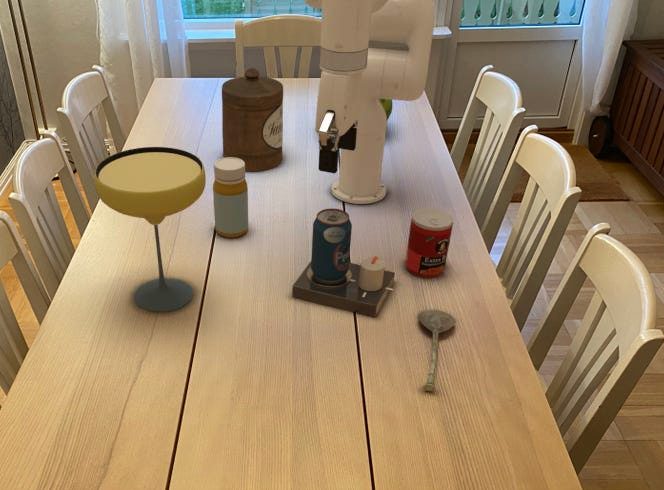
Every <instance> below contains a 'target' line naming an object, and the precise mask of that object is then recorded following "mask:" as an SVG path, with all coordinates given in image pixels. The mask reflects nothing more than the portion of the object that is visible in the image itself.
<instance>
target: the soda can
mask: <svg viewBox="0 0 664 490" xmlns="http://www.w3.org/2000/svg"><path fill="white" fill-rule="evenodd" d="M352 228H353V224H352V222H351V219H350V215H349V213H348V212H347V211H345V210H342V209H339V208H324V209H322V210H319V211H318V212H317V214H316V217H315V219H314V220H313V222H312V238H311V255H310V256H311V257H310V259H311V260H310V262H311V270H312V272H313V273H314V275H315V276H316V278H318V279H319V280H321V281H325V282H336V281H339V280H341V279H342V278H343V277H344V276H345V275H346V273H347V272H348V269H349V262H350V256H351V244H352V243H351V242H352V232H353V231H352V230H353V229H352Z"/></svg>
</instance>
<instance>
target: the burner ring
mask: <svg viewBox="0 0 664 490" xmlns="http://www.w3.org/2000/svg"><path fill="white" fill-rule="evenodd" d="M307 278H308V280H309V281H310V282H311V283H313V284H315V285H317V286H320V287H325V288H337V287H341V286H344V285H346V284H348V283H349V282H350V280H351V278H352V273H351V271H350V270H349V269H348V272H347V273H346V275H345V276H344V277H343V278H342V279H341V280H339V281H336V282H325V281H321V280H319V279H318V278H316V276H315V275H314V273H313V272H312V270H311V267H310V268H309V269H308V271H307Z"/></svg>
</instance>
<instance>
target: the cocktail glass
mask: <svg viewBox="0 0 664 490" xmlns="http://www.w3.org/2000/svg"><path fill="white" fill-rule="evenodd" d="M93 178H94V180H93V181H94V187H95V191H96V194H97V196H98V198H99V199H100V200H101V202H102V203H103V204H104V205H105V206H106V207H108V208H109V209H111V210H113V211H114V212H117V213H118V214H122V215H125V216H128V217H133V218H140V219H144V220H145V221H147V222H148V224H150V225H152V226H153V227H154V236H155V237H154V238H155V244H156V245H155V247H156V254H157V265H158V278H157V279H152V280H149V281H147V282H145V283H143V284H141V285H140V286H139V287H137V289H136V290H135V292H134V294H133V295H134V296H133V299H134V303H135V304H136V305H137V306H138V307H140V308H141V309H143V310H146V311H148V312H153V313H167V312H168V313H169V312H174V311H176V310H179V309H181V308H183V307H185V306H186V305H188V304H189V303H190V302H191V300H192V299H193V294H194V292H193V288H192V287H191V285H190V284H188V283H187V282H185V281H183V280H181V279H176V278H170V277H169V278H167V277H166V278H165V275H164V267H163V260H162V259H163V258H162V252H161V243H160V242H161V241H160V235H159V225H160V224H161V223H162V222H164V220H165V218H166V217H169V216H172V215H175V214H178V213H180V212H183V211H184V210H187V209H188V208H189V207H191V206H192V205H193V204H195V203H196V202H197V201H198V200H199V199H200V198H201V197H202V195H203V194H204V191H205V188H206V183H207V182H206V181H207V179H206V170H205V166H204V163H203V162H202V160H201V159H200V158H199V157H198V156H197V155H195V154H193V153H192V152H189V151H186V150H183V149H180V148H174V147H166V146H146V147H136V148H132V149H131V148H130V149H126V150H123V151H119V152H116V153H114V154H111V155H109V156H107V157H106V158H104V159H103V160H102V161H100V162H99V163H98V165H97V166H96V168H95V169H94V176H93Z"/></svg>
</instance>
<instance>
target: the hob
mask: <svg viewBox="0 0 664 490" xmlns="http://www.w3.org/2000/svg"><path fill="white" fill-rule="evenodd" d="M310 267H311V261H310V262H309V263H308V264H307V265H306V267H305V268H304V270H303V271H302V272H301V274H300V275H299V277H298V278H297V279H296V280H295V282H294V283H293V285H292V288H291V289H292V290H291V291H292V292H291V293H292V294H291V297H292V298H294V299H298V300H303V301H306V302H311V303H315V304H319V305H323V306H326V307H327V306H328V307H331V308H336V309H338V310H339V309H340V310H344V311H348V312H351V313H356V314H359V315H363V316H368V317H372V318H376V317H377V315H378V313H379V312H380V310H381V308H382V306H383V304H384V302H385V301H386V298H387V296H388V294H389V293H390V291H392V292H393V291H394V288H392V287H393V286H394V283H395V277H396V276H395V275H396V272H395V271H390V270H385V269H384V277H383V286H382V288H381V289H380V290H377V291H366V290H363V289H361V288H360V287H359V285H358V282H359V272H360V263H353V262H350V261H349V270H350V271H351V273H352V278H351V280H350V282H349V283H348V284H346V285H344V286H341V287H337V288H325V287H320V286H317V285H315V284H313V283H311V282H310V281H309V280H308V278H307V271H308V269H309V268H310Z"/></svg>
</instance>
